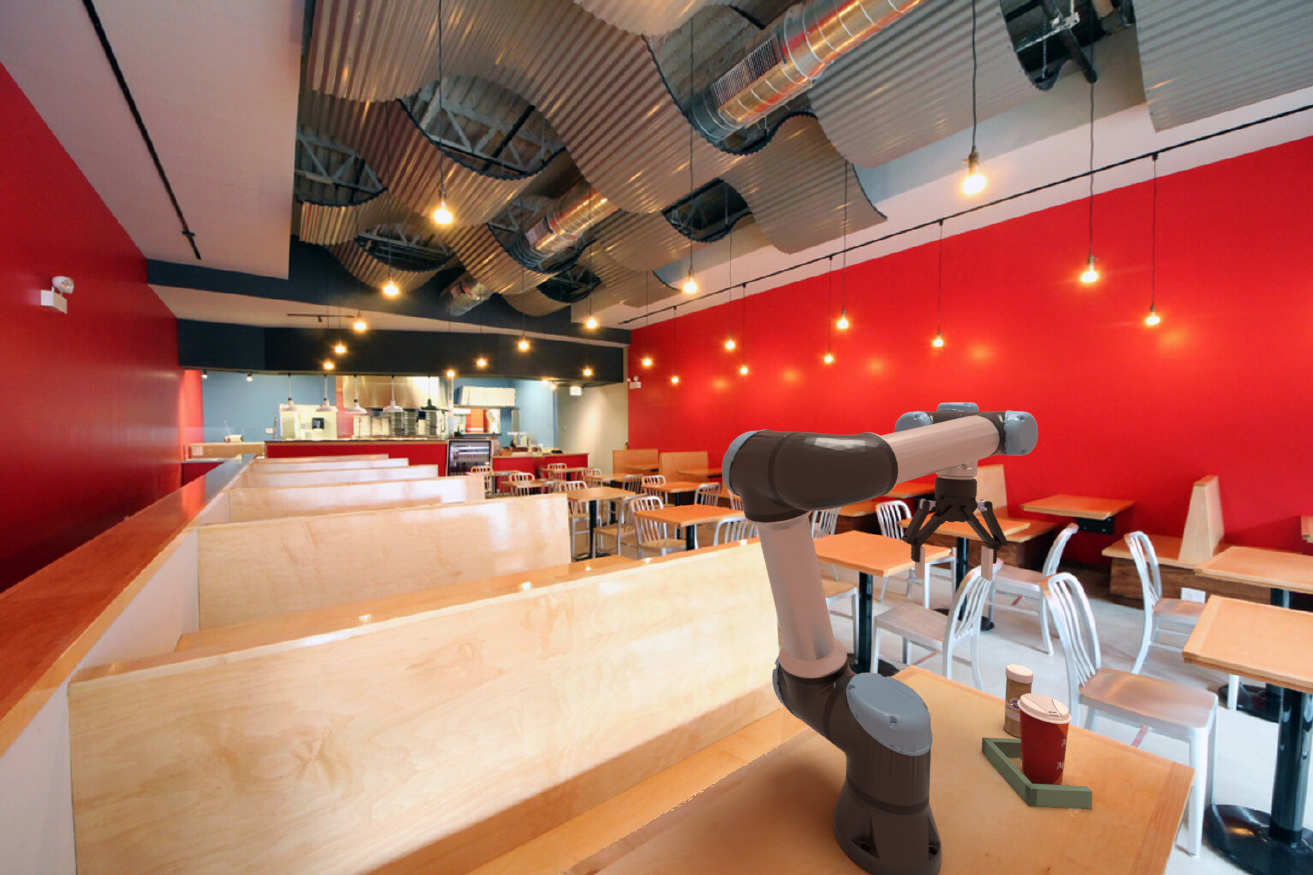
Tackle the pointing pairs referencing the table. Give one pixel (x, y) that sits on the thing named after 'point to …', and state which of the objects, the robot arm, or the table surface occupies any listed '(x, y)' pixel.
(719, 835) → the table surface
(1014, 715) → the sprinkles bottle
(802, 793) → the table surface
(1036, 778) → the paper cup
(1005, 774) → the green pocket
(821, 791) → the table surface
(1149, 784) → the table surface
